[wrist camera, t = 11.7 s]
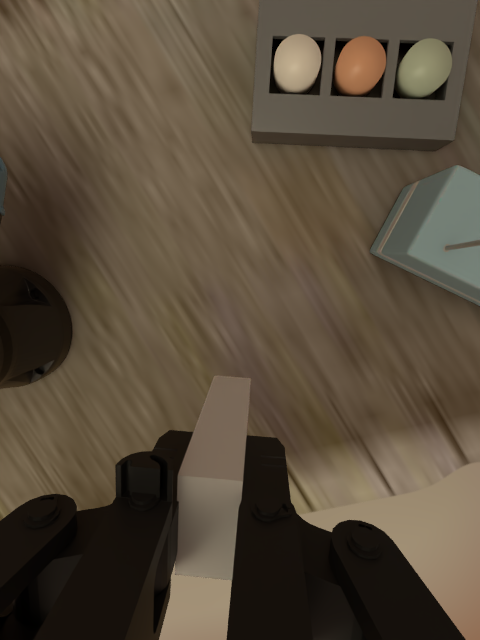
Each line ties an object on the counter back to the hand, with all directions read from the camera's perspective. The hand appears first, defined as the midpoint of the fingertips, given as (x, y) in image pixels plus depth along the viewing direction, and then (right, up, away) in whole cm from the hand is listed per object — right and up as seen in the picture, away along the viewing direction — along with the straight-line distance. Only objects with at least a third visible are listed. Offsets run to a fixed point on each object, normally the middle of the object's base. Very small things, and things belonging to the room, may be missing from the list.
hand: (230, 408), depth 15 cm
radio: (+24, +12, +27) cm, 38 cm away
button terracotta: (+12, +28, +21) cm, 37 cm away
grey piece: (+12, +29, +24) cm, 39 cm away
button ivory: (+6, +29, +21) cm, 36 cm away
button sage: (+18, +28, +21) cm, 39 cm away
